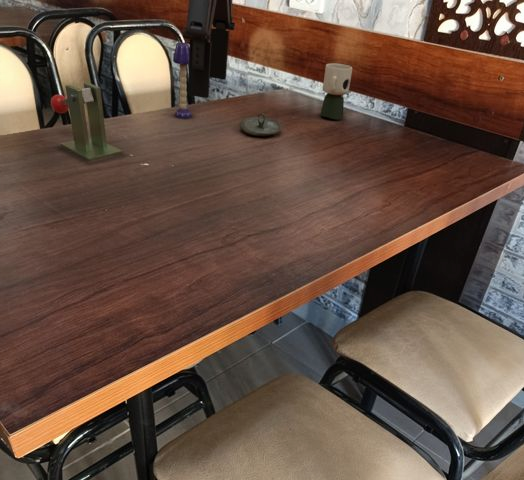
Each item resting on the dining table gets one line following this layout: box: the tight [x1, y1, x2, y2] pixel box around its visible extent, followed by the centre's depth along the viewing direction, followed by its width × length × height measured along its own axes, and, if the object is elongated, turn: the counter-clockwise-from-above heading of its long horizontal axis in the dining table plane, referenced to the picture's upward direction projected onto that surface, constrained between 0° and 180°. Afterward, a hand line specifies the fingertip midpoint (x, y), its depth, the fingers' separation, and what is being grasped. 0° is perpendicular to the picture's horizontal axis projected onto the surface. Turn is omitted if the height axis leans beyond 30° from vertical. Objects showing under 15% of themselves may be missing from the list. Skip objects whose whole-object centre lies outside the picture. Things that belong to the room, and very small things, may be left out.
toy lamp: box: [172, 41, 193, 120], centre depth 126 cm, size 5×5×17 cm
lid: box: [238, 112, 283, 137], centre depth 125 cm, size 11×10×5 cm
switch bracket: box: [59, 81, 124, 162], centre depth 103 cm, size 11×8×13 cm
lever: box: [50, 87, 94, 114], centre depth 104 cm, size 14×4×4 cm, turn 47°
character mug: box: [319, 62, 353, 120], centre depth 137 cm, size 11×7×13 cm, turn 161°
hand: (208, 86), depth 74 cm, fingers open, 13 cm apart
